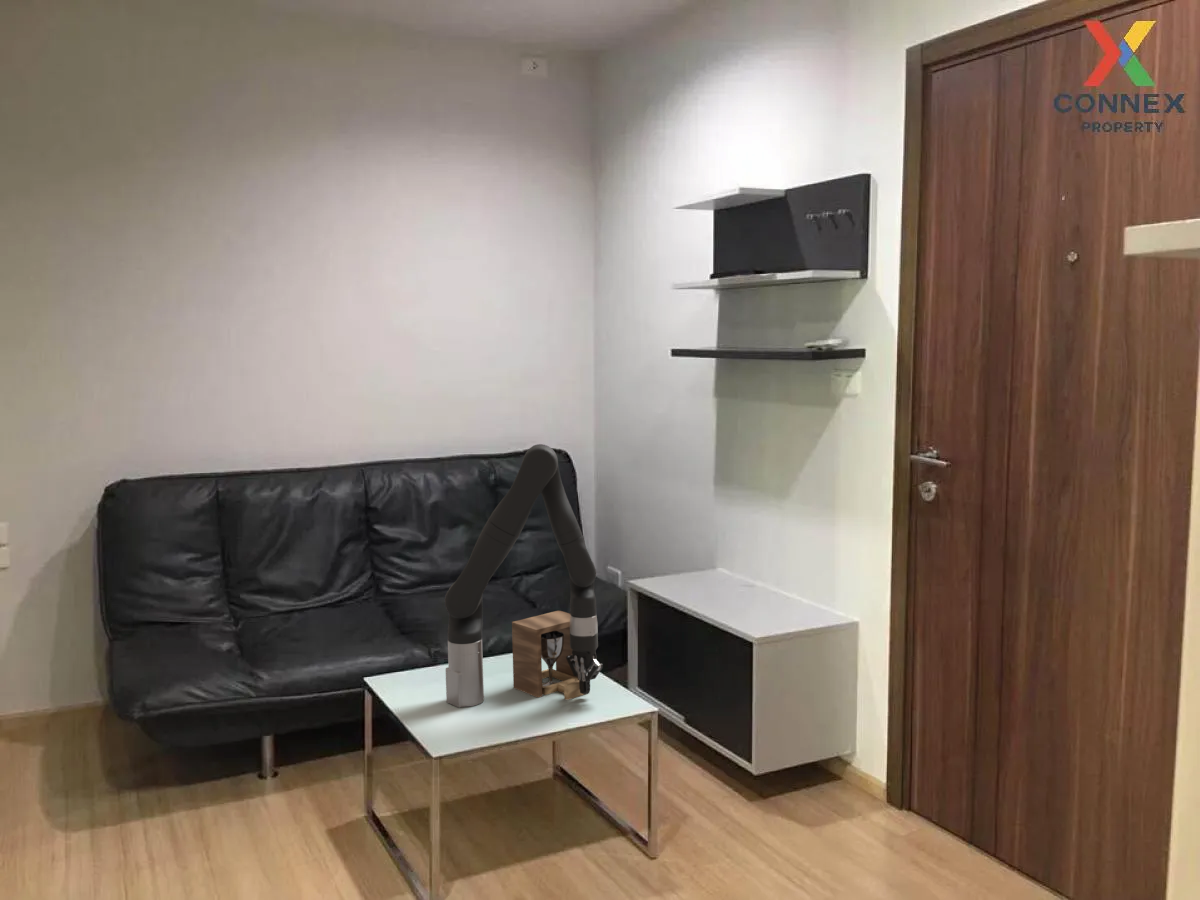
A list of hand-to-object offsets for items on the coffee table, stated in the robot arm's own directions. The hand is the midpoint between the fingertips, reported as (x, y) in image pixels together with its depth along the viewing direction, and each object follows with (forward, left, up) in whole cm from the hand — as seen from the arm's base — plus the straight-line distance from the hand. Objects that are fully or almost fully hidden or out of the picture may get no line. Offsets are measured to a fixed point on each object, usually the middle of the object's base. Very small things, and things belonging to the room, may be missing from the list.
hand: (584, 693), depth 278 cm
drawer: (0, +12, -2) cm, 12 cm away
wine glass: (0, +14, -2) cm, 14 cm away
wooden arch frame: (0, +15, -2) cm, 15 cm away
